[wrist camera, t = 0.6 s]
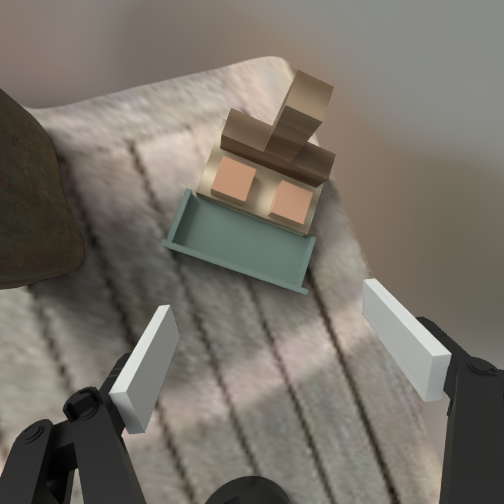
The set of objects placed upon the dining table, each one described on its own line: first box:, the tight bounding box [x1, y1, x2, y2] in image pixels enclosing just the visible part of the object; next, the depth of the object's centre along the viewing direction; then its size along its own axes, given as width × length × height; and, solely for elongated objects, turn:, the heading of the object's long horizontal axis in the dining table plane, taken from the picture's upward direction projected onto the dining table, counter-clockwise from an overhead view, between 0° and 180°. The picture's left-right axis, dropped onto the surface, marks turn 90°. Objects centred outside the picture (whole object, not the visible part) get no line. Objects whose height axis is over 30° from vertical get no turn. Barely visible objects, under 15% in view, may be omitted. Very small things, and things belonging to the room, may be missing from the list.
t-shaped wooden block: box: [220, 70, 336, 188], centre depth 31 cm, size 4×16×14 cm, turn 71°
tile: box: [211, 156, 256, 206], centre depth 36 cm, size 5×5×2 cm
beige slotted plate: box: [196, 119, 324, 236], centre depth 39 cm, size 12×18×3 cm, turn 71°
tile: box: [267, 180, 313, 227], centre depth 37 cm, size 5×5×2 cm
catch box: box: [160, 188, 316, 295], centre depth 37 cm, size 9×21×6 cm, turn 71°
